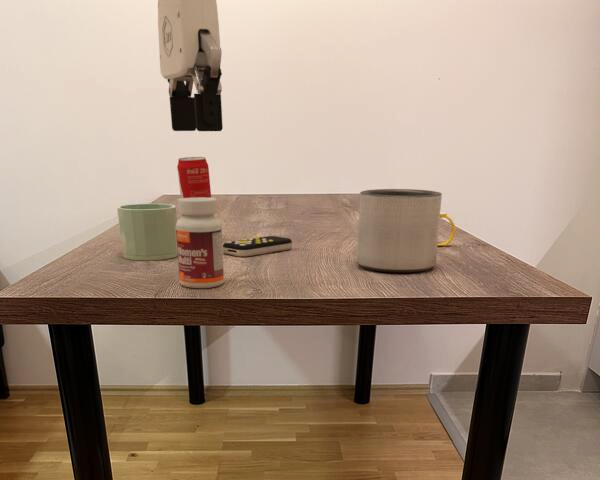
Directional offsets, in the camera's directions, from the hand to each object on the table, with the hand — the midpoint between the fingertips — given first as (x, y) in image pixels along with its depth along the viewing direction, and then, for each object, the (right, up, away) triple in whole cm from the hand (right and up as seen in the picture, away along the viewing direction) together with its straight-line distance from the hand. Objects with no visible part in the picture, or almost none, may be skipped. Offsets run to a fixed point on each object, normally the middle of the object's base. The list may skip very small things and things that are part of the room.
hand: (196, 130), depth 81 cm
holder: (-13, -8, +28) cm, 32 cm away
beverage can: (-7, -1, +43) cm, 44 cm away
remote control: (+6, -6, +33) cm, 34 cm away
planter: (+29, -12, +20) cm, 37 cm away
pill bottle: (-1, -18, +8) cm, 20 cm away
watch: (+39, -3, +39) cm, 55 cm away
